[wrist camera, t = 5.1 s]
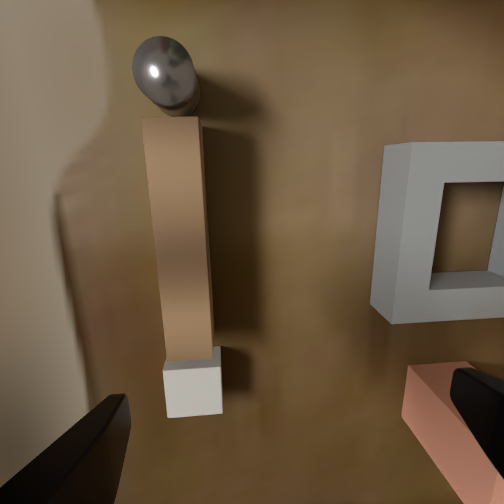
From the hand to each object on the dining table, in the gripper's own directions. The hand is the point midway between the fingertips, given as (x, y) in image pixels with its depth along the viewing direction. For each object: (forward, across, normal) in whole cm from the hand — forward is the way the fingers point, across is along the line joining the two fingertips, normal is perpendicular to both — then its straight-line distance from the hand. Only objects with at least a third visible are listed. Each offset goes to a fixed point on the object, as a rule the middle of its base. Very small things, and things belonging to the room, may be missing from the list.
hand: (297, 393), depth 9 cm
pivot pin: (+10, +4, -9) cm, 14 cm away
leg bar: (+10, +4, -2) cm, 11 cm away
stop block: (+10, +4, +6) cm, 12 cm away
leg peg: (+10, -12, +9) cm, 17 cm away
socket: (+10, -11, -2) cm, 15 cm away
